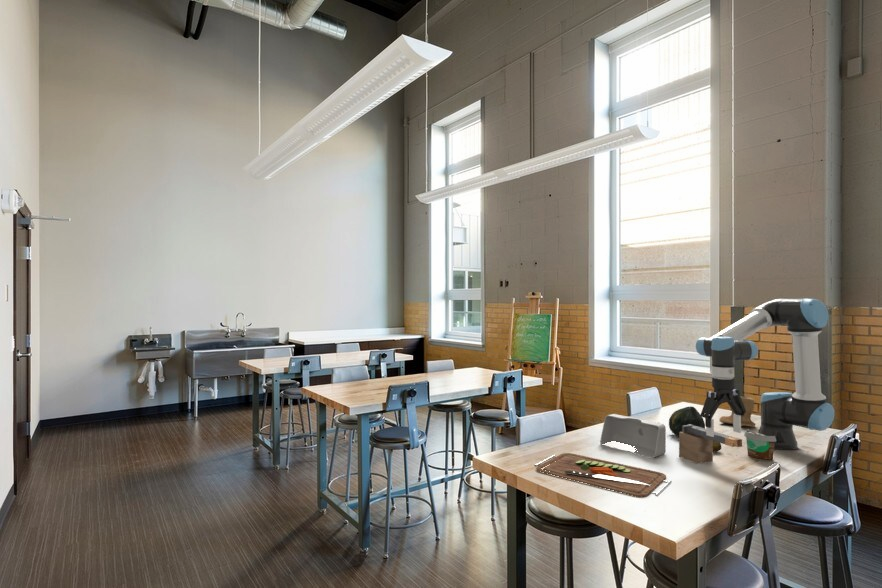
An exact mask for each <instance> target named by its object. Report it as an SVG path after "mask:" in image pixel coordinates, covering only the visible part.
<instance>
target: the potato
mask: <svg viewBox="0 0 882 588" xmlns="http://www.w3.org/2000/svg"><path fill="white" fill-rule="evenodd" d="M721 450H722V443H719V442H716V441H713V453H715V452H716V453H717V452H719V451H721Z"/></svg>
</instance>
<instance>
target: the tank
mask: <svg viewBox="0 0 882 588" xmlns="http://www.w3.org/2000/svg"><path fill="white" fill-rule="evenodd" d="M665 425H666V424H664V423H662V422H661V423H660V422H656V421H651V420H645V419H642V418H641V419H640V418H636V417H631V416H626V415H621V414H617V413H612V414H611V413H610V414H608V415H607V414H606V416H605V417H604V421H603V426H602V429H601V430H602V431H601V436H600V440H599V442H600V445H601V444H605V443H607V442H611V441H616V442H620V443H624V444H628V445H631V446H632V447H633V446H635V447H634V448H636V449H637V450H636V449H635V450H636V451H635V452H634V453H636V454H635V455H638V454H639V456H641V455H643V456H642V457H646V458H649V459H653V458H657V457H659V456H661V455H665V454H666V451H667V450H666V448H667V445H666V437H667V436H666V433H667V432H666V431H667V430H666V428H667V427H666V426H665ZM637 451H638V452H637ZM634 453H633V454H634Z"/></svg>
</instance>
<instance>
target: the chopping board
mask: <svg viewBox="0 0 882 588" xmlns="http://www.w3.org/2000/svg"><path fill="white" fill-rule="evenodd" d="M547 460H548V461H547ZM545 461H546V462H545ZM555 461H556V462H555ZM543 462H544V463H543ZM541 463H542V464H541ZM538 464H540V465H539V466H535V465H538ZM549 464H550V465H549ZM547 465H549V466H547ZM534 466H535V470H536V469H537V470H538V471H541V472H544V473H548V474H552V475H555V476H559V477H563V478H567V479H571V480H575V481H579V482H583V483H587V484H590V485H589V486H591V485H594V486H593V487H595V486H598V487H597V488H599V487H601V488H600V489H603V488H606V489H605V490H607V489H610V490H609V491H611V490H614V491H613V492H615V491H617V492H616V493H619V492H622V493H621V494H623V493H626V494H625V495H627V494H629V495H628V496H631V495H633V496H632V497H635V496H636V498H646V497H648V496H650V494H653V495H654V496H656V497H658V496H659V495H660V494H661V493H662V492H663V491H664V490H665V489H667V488H668V486H670V484H672V480H668V481H667V480H666V479H667V474H665V473H663V472H660V471H655V470H652V469H646V468H642V467H636V466H631V465H628V464H627V465H626V464H624V463H619V462H614V461H609V460H604V459H600V458H595V457H590V456H587V455H586V456H585V455H581V454H576V453H571V452H563V453H560V454H559V455H557V456H556V454H553V455H550V456H549V457H547V458H545V459H544V460H541V461H539V462H538V463H535V464H534ZM545 466H547V467H545ZM543 467H545V468H544V469H543V470H542V469H541V468H543ZM545 470H546V471H545ZM538 471H537V472H538ZM549 471H550V472H549ZM555 476H554V477H555ZM559 477H558V478H559ZM563 478H562V479H563ZM567 479H566V480H567ZM571 480H570V481H571ZM575 481H574V482H575ZM579 482H578V483H579ZM583 483H582V484H583ZM662 483H665V484H664V486H663V487H661V489H659V490H658V491H657V492H654V491H655V489H657V488H658V487H659V486H660V485H661V484H662ZM587 484H586V485H587Z"/></svg>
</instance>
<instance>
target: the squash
mask: <svg viewBox="0 0 882 588" xmlns="http://www.w3.org/2000/svg"><path fill="white" fill-rule="evenodd" d="M688 424H691V425H694V426H698V427H701V428H704V429H706V426H705V420H704V417H702V416H701V412H699V410H697V408H695V407H694V406H691V405H690V406H686V407H683V408H680V409H677V410H674V412H672V414H671V415H670V417H669V420H668V427H669V430H670V431H671V432H672V434H674V435H676V436H678V437H679V432H682V426H684V425H688Z"/></svg>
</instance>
